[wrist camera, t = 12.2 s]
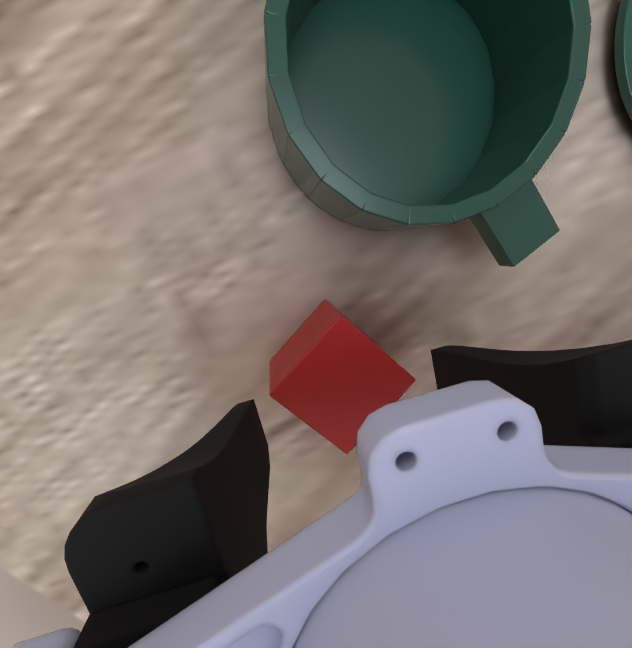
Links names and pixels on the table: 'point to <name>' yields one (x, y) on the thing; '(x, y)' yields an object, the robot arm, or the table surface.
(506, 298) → the table surface
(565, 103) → the pot
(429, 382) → the table surface
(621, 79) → the lid
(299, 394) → the red block
